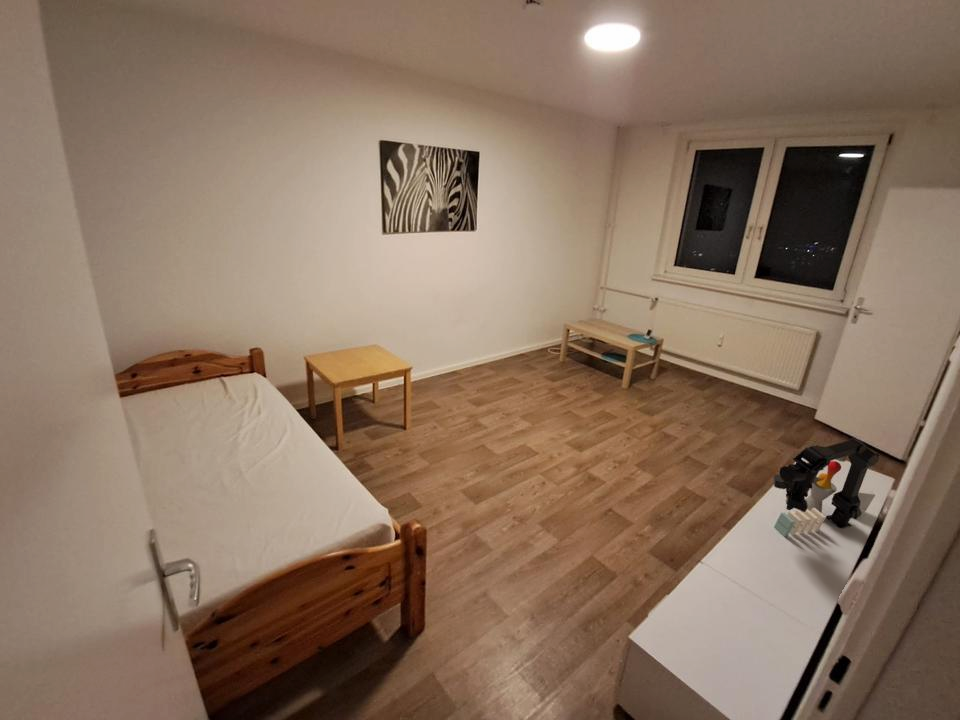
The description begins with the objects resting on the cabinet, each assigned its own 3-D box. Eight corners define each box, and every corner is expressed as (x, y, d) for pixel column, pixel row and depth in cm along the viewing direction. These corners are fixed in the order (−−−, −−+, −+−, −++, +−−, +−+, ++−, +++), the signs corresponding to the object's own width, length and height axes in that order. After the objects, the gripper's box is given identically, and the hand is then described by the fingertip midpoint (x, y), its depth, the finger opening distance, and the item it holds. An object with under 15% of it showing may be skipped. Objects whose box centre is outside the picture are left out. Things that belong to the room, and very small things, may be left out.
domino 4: (799, 523, 182) (807, 508, 179) (810, 532, 178) (818, 518, 174) (796, 523, 182) (804, 509, 178) (807, 533, 177) (815, 518, 174)
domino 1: (783, 537, 174) (791, 522, 171) (773, 527, 179) (781, 512, 175) (787, 536, 175) (794, 521, 171) (776, 526, 179) (784, 512, 176)
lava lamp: (826, 519, 186) (864, 453, 171) (805, 517, 185) (842, 451, 170) (812, 504, 194) (847, 439, 179) (792, 502, 194) (826, 437, 179)
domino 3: (792, 524, 181) (799, 510, 178) (802, 533, 177) (810, 519, 173) (788, 524, 181) (796, 510, 177) (799, 534, 176) (807, 519, 173)
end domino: (807, 522, 183) (814, 507, 180) (817, 531, 179) (826, 516, 175) (804, 522, 183) (811, 508, 179) (814, 531, 178) (822, 517, 175)
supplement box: (851, 505, 196) (864, 483, 190) (862, 517, 189) (876, 494, 183) (834, 502, 196) (846, 480, 191) (844, 514, 189) (858, 492, 184)
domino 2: (784, 525, 180) (791, 511, 177) (794, 535, 176) (802, 520, 172) (781, 526, 180) (788, 511, 176) (791, 535, 175) (799, 520, 172)
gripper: (780, 457, 175) (765, 487, 182) (779, 481, 161) (763, 513, 167) (813, 469, 170) (796, 499, 177) (815, 495, 156) (797, 527, 162)
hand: (787, 509), depth 171 cm, fingers closed
